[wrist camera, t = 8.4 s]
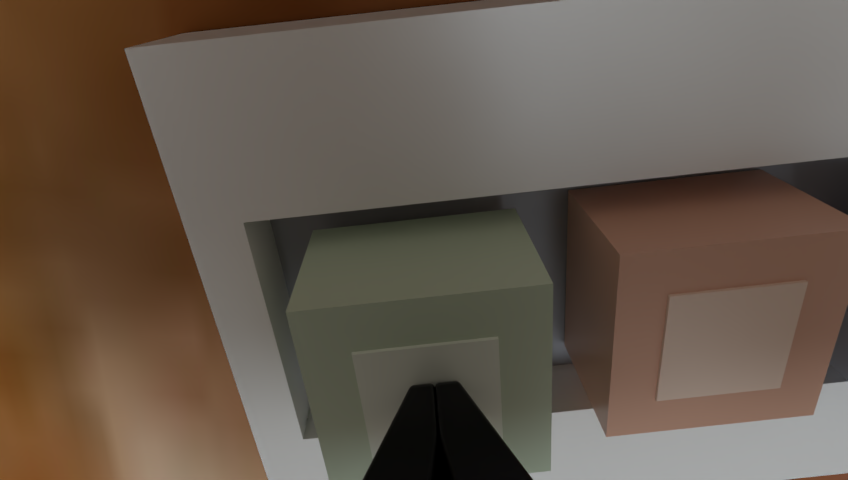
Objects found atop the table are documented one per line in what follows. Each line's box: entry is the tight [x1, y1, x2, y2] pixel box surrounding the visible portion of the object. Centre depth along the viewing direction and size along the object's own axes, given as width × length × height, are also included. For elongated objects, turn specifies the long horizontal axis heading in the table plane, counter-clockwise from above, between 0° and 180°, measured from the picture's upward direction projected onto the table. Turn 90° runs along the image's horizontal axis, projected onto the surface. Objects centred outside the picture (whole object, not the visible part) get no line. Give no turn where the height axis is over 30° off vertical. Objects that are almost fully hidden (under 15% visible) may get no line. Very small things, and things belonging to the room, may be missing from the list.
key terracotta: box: [564, 169, 848, 437], centre depth 11 cm, size 4×4×3 cm
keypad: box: [124, 0, 848, 480], centre depth 12 cm, size 25×12×3 cm, turn 96°
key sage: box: [286, 208, 553, 480], centre depth 10 cm, size 4×4×3 cm
